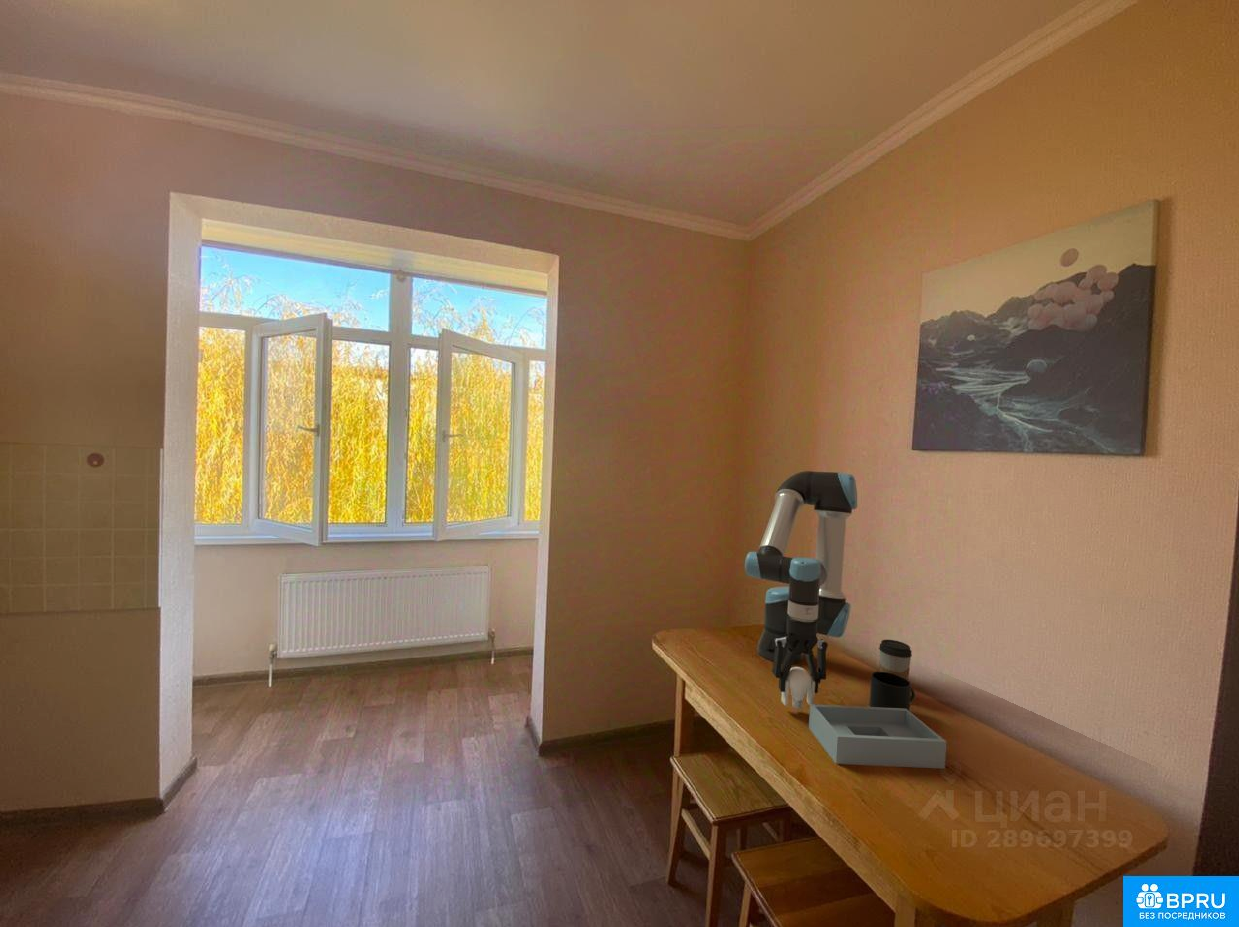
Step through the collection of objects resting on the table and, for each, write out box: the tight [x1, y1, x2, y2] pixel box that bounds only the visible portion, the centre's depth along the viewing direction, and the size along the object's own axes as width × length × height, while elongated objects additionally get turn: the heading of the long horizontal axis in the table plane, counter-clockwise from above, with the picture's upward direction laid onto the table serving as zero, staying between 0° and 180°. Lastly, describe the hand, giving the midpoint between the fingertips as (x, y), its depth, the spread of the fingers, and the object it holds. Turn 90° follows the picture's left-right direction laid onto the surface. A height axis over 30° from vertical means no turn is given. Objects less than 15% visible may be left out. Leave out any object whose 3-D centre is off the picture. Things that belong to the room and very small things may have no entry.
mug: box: [869, 671, 916, 712], centre depth 128 cm, size 9×12×9 cm
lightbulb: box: [787, 666, 812, 711], centre depth 125 cm, size 6×6×11 cm
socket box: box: [808, 703, 947, 770], centre depth 111 cm, size 14×24×6 cm, turn 91°
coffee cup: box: [878, 639, 912, 681], centre depth 138 cm, size 8×8×15 cm
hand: (797, 703), depth 125 cm, fingers closed on lightbulb, 6 cm apart
